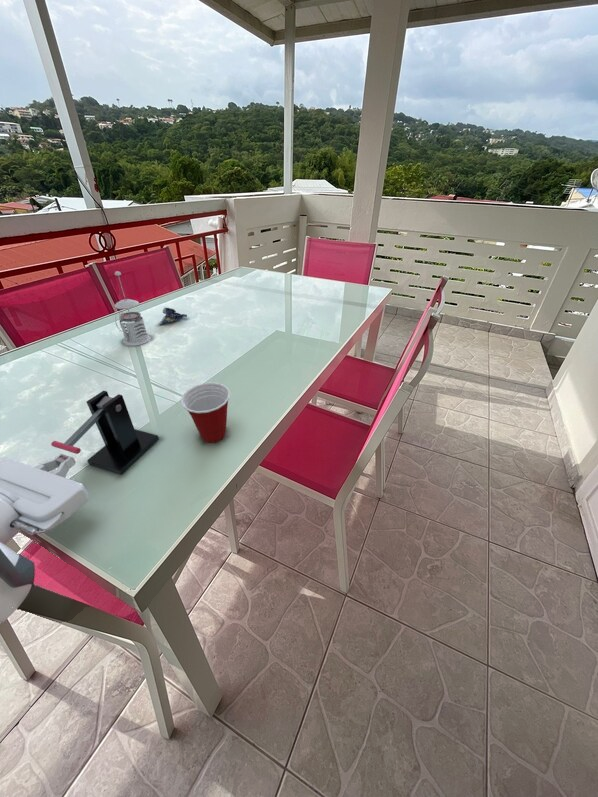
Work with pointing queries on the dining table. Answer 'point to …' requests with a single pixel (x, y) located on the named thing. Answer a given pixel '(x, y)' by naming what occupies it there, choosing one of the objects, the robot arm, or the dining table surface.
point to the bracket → (118, 436)
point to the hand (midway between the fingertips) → (69, 457)
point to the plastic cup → (208, 409)
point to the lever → (82, 429)
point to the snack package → (171, 315)
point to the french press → (131, 336)
